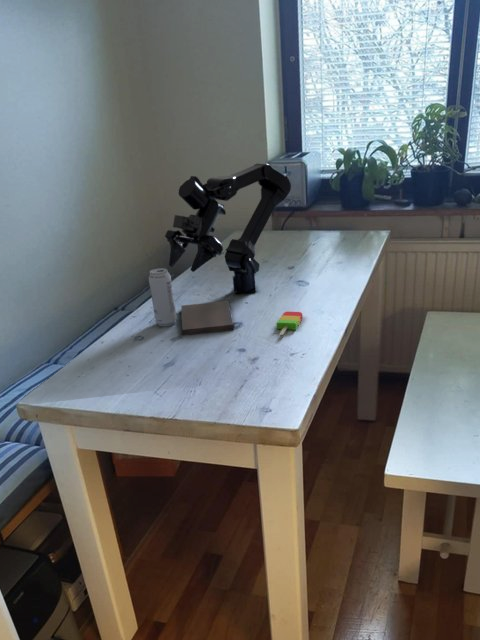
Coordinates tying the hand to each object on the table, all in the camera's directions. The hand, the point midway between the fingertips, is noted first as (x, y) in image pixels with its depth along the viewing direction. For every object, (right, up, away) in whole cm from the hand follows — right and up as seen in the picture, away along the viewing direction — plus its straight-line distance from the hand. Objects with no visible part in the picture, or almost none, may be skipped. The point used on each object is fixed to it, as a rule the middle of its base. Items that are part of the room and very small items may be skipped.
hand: (180, 268), depth 171 cm
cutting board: (+7, -14, +3) cm, 16 cm away
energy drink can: (-4, -15, +2) cm, 16 cm away
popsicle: (+30, -18, -6) cm, 36 cm away
